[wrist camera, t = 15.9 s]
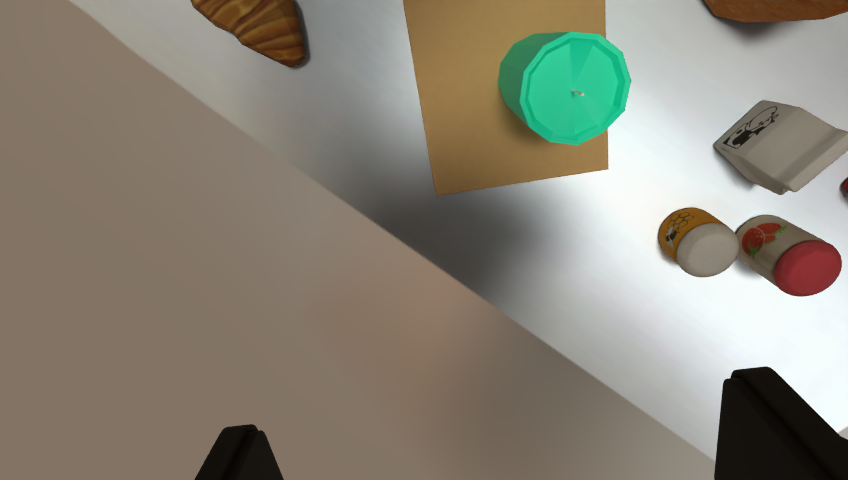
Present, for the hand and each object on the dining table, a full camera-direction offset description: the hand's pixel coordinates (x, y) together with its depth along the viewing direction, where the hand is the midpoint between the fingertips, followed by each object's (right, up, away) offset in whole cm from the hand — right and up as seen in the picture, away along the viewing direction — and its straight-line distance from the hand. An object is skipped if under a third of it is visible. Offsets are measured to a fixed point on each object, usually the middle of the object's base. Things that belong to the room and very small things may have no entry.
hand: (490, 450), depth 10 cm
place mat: (+5, +18, +25) cm, 31 cm away
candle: (+7, +17, +26) cm, 31 cm away
